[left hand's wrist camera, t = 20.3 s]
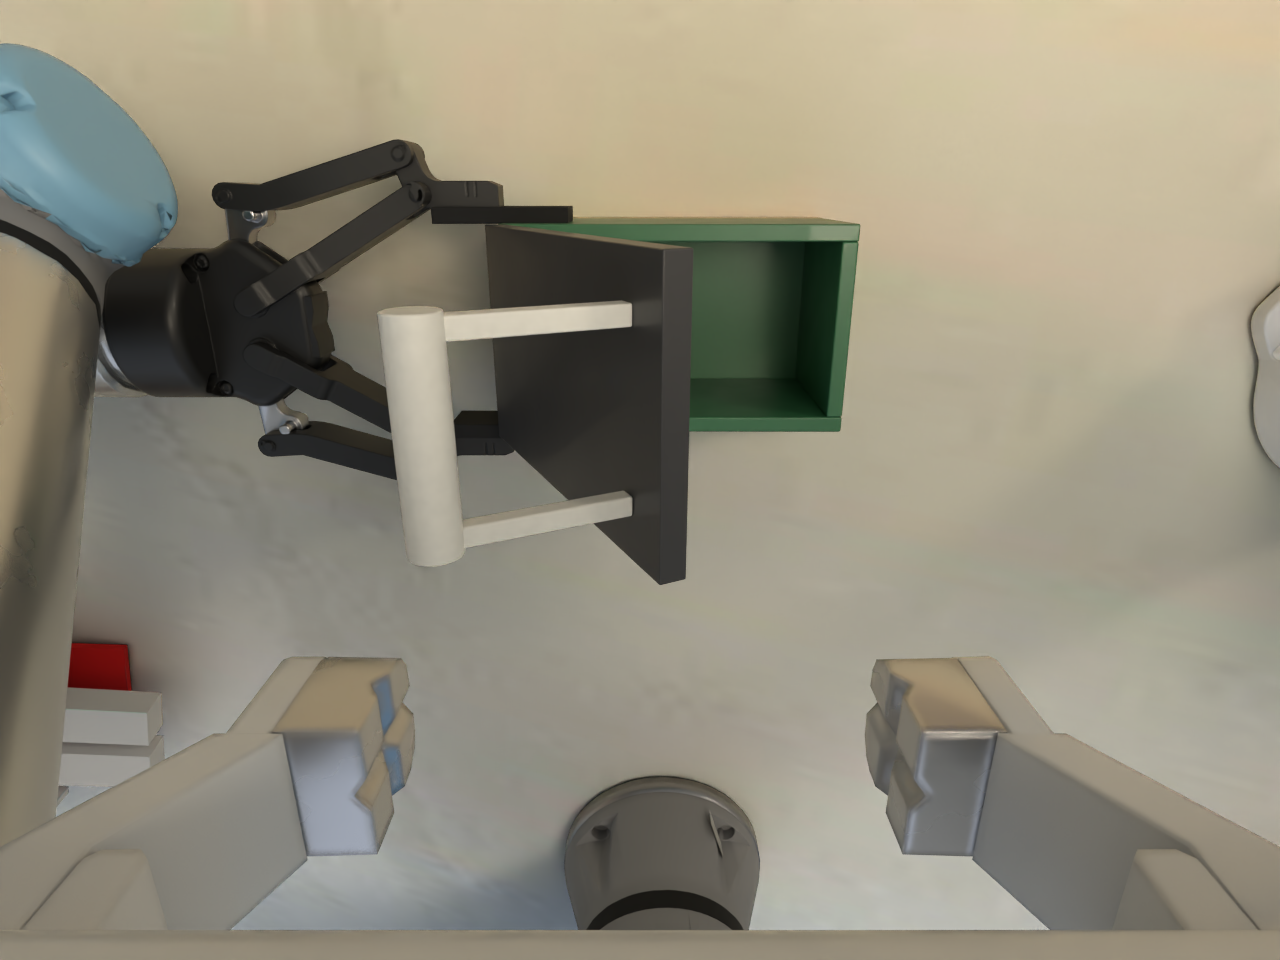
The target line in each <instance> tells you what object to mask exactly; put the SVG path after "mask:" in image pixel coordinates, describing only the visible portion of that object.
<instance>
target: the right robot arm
mask: <svg viewBox="0 0 1280 960" xmlns="http://www.w3.org/2000/svg"><path fill="white" fill-rule="evenodd" d="M395 175H398V178H399V180H400V182H401V185H402V188H400V189H399V190H397V191H396V192H394V193H393V194H391V195H390V196H388V197H387V198H385V199H384V200H382V201H381V202H379V203H378V204H376V205H375V206H373V207H372V208H370V209H369V210H367V211H366V212H364V213H362V214H361V215H359V216H358V217H356V218H355V219H353V220H352V221H350V222H349V223H347V224H346V225H344V226H343V227H341V228H340V229H338V230H337V231H335V232H334V233H332V234H331V235H329V236H328V237H326V238H325V239H323V240H322V241H320V242H319V243H317V244H316V245H314V246H313V247H311V248H310V249H308V250H307V251H305V252H303V253H301V254H299V255H297V256H295V257H293V258H292V259H290V260H289V261H288V260H286V259H285V258H284V257H282V256H281V255H279V254H278V253H276V252H275V251H273V250H272V249H270V248H269V247H267V246H266V245H264V244H263V243H261V242H259V241H257V235H258V232H259V231H260V229H262V228H264V227H268V226H271V225H273V223H274V222H275V220H276V210H286V209H293V208H297V207H301V206H304V205H307V204H310V203H313V202H316V201H319V200H322V199H325V198H328V197H331V196H334V195H337V194H341V193H344V192H347V191H350V190H353V189H356V188H359V187H362V186H365V185H368V184H371V183H374V182H377V181H380V180H383V179H386V178H389V177H392V176H395ZM212 197H213V200H214V202H215V203H216V204H217V205H218V206H219V207H221V208H223V209H225V214H226V222H227V230H228V238H229V240H228V241H226V242H224V243H223V244H221V245H220V246H218V247H216V248H211V249H150V248H152V247H153V246H154V245H156V244H157V243H159V242H160V241H161V240H163V239H164V238H165V237H166V236H167V235H168V234H169V232H170V231H171V229H172V228H173V227H174V225H175V223H176V220H177V215H178V202H177V196H176V192H175V189H174V185H173V182H172V180H171V177H170V175H169V173H168V170H167V168H166V166H165V164H164V163H163V161H162V159H161V157H160V156H159V154H158V152H157V151H156V149H155V148H154V146H153V145H152V143H151V142H150V141H149V139H148V138H147V137H146V135H145V134H144V133H143V131H142V130H141V129H140V128H139V126H138V125H137V124H136V123H135V122H134V120H133V119H132V118H131V117H130V116H129V115H128V114H127V113H126V112H125V111H124V110H123V109H122V108H121V107H120V106H119V105H118V104H117V103H115V102H114V101H113V100H112V99H111V98H110V97H109V96H108V95H107V94H106V93H104V92H103V91H102V90H101V89H100V88H99V87H98V86H96V85H95V84H94V83H93V82H92V81H91V80H90V79H88V78H87V77H86V76H84V75H83V74H81V73H80V72H79V71H77V70H76V69H74V68H73V67H71V66H70V65H68V64H66V63H65V62H63V61H61V60H59V59H57V58H55V57H53V56H51V55H49V54H47V53H45V52H42V51H40V50H37V49H34V48H31V47H27V46H23V45H18V44H9V43H4V44H0V847H1V846H3V845H4V844H6V843H8V842H10V841H12V840H14V839H16V838H18V837H20V836H21V835H23V834H25V833H27V832H29V831H31V830H33V829H35V828H37V827H38V826H40V825H42V824H44V823H46V822H48V821H50V820H52V819H54V818H55V817H56V808H57V797H58V786H59V775H60V764H61V753H62V742H63V731H64V720H65V709H66V698H67V687H68V676H69V665H70V654H71V643H72V632H73V621H74V610H75V599H76V588H77V577H78V567H79V556H80V545H81V534H82V523H83V512H84V501H85V490H86V479H87V468H88V457H89V446H90V435H91V424H92V413H93V402H94V397H142V396H146V395H152V396H155V397H237V398H241V399H244V400H246V401H249V402H250V403H252V404H255V405H258V406H259V410H260V414H261V418H262V422H263V426H264V430H265V435H264V436H262V437H261V438H260V439H259V441H258V447H259V449H260V451H261V452H262V453H263V454H264V455H266V456H271V457H274V456H292V455H305V456H309V457H313V458H316V459H320V460H324V461H328V462H331V463H335V464H339V465H342V466H346V467H350V468H354V469H357V470H361V471H365V472H369V473H372V474H376V475H380V476H383V477H387V478H391V479H395V480H397V474H396V466H395V458H394V450H393V441H392V440H389V439H386V438H382V437H379V436H375V435H371V434H368V433H364V432H360V431H357V430H353V429H349V428H346V427H342V426H338V425H335V424H331V423H326V422H319V421H308V416H307V415H306V414H304V413H301V412H299V411H294V410H291V409H290V408H288V407H287V405H286V404H285V402H284V399H285V398H286V397H287V396H289V395H290V394H291V393H292V392H294V391H295V390H296V389H299V390H301V391H303V392H305V393H307V394H309V395H311V396H313V397H315V398H317V399H321V400H328V401H331V402H333V403H335V404H336V405H338V406H340V407H342V408H344V409H346V410H348V411H350V412H352V413H354V414H356V415H358V416H359V417H361V418H363V419H365V420H367V421H369V422H371V423H373V424H375V425H377V426H379V427H381V428H382V429H384V430H386V431H388V432H390V433H391V425H390V416H389V408H388V400H387V392H386V388H385V387H384V386H382V385H380V384H378V383H376V382H374V381H372V380H370V379H369V378H367V377H365V376H363V375H361V374H359V373H357V372H356V371H354V370H353V369H352V367H351V366H350V365H349V364H347V363H346V362H344V361H342V360H340V359H338V358H336V357H334V356H332V355H331V352H332V351H334V350H335V348H334V341H333V335H332V333H331V330H330V328H329V325H328V323H327V315H328V307H329V305H328V298H327V291H322V289H321V287H320V285H319V283H320V282H322V281H323V280H325V279H326V278H328V277H329V276H331V275H333V274H334V273H336V272H337V271H338V270H339V269H340V268H341V267H343V266H344V265H346V264H347V263H349V262H350V261H352V260H353V259H355V258H356V257H358V256H359V255H361V254H363V253H364V252H366V251H367V250H369V249H370V248H372V247H373V246H375V245H376V244H378V243H379V242H381V241H382V240H384V239H385V238H387V237H389V236H390V235H392V234H393V233H395V232H396V231H398V230H399V229H401V228H402V227H404V226H405V225H407V224H408V223H410V222H412V221H413V220H415V219H416V218H418V217H419V216H421V215H422V214H424V213H425V212H427V211H428V210H430V209H431V215H432V224H501V223H570V222H572V221H573V207H572V206H504V199H503V186H502V185H500V184H497V183H495V182H493V181H441V180H438V179H436V178H435V177H434V176H433V175H432V174H431V172H430V170H429V168H428V166H427V164H426V161H425V155H424V151H423V149H422V148H421V147H420V146H419V145H418V144H416V143H412V142H408V141H403V140H392V141H389V142H386V143H383V144H380V145H377V146H374V147H371V148H368V149H365V150H362V151H359V152H356V153H353V154H350V155H347V156H344V157H341V158H338V159H335V160H332V161H329V162H326V163H323V164H320V165H317V166H314V167H311V168H308V169H305V170H302V171H299V172H296V173H293V174H290V175H287V176H284V177H281V178H278V179H275V180H272V181H269V182H266V183H263V184H256V183H226V182H223V183H218V184H216V185H215V186H214V188H213V190H212ZM454 430H455V441H456V452H457V456H459V455H507V454H509V453H512V452H514V449H513V448H512V447H511V446H510V445H509V444H508V443H507V442H506V441H504V440H503V439H502V438H501V437H500V436H499V423H498V411H461V412H460V414H459V415H458V416H457V417H456V419H455V420H454ZM564 870H565V878H566V885H567V889H568V893H569V896H570V900H571V904H572V908H573V911H574V915H575V919H576V922H577V926H578V930H749V926H750V921H751V916H752V911H753V906H754V901H755V896H756V891H757V887H758V882H759V870H760V859H759V852H758V846H757V841H756V836H755V832H754V830H753V827H752V825H751V823H750V821H749V819H748V818H747V816H746V815H745V813H744V812H743V811H742V810H741V809H740V807H739V806H738V805H737V804H736V803H734V802H733V801H732V800H731V799H730V798H728V797H727V796H726V795H724V794H722V793H721V792H719V791H717V790H715V789H713V788H711V787H709V786H707V785H704V784H701V783H698V782H695V781H691V780H686V779H680V778H671V777H653V778H644V779H639V780H634V781H630V782H627V783H623V784H621V785H618V786H616V787H613V788H611V789H609V790H607V791H606V792H604V793H602V794H600V795H599V796H598V797H596V798H595V799H593V800H592V801H591V802H590V803H589V804H588V805H587V806H586V807H585V808H584V809H583V810H582V811H581V812H580V813H579V815H578V816H577V818H576V819H575V821H574V823H573V824H572V827H571V829H570V831H569V835H568V838H567V844H566V852H565V861H564Z"/></svg>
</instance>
